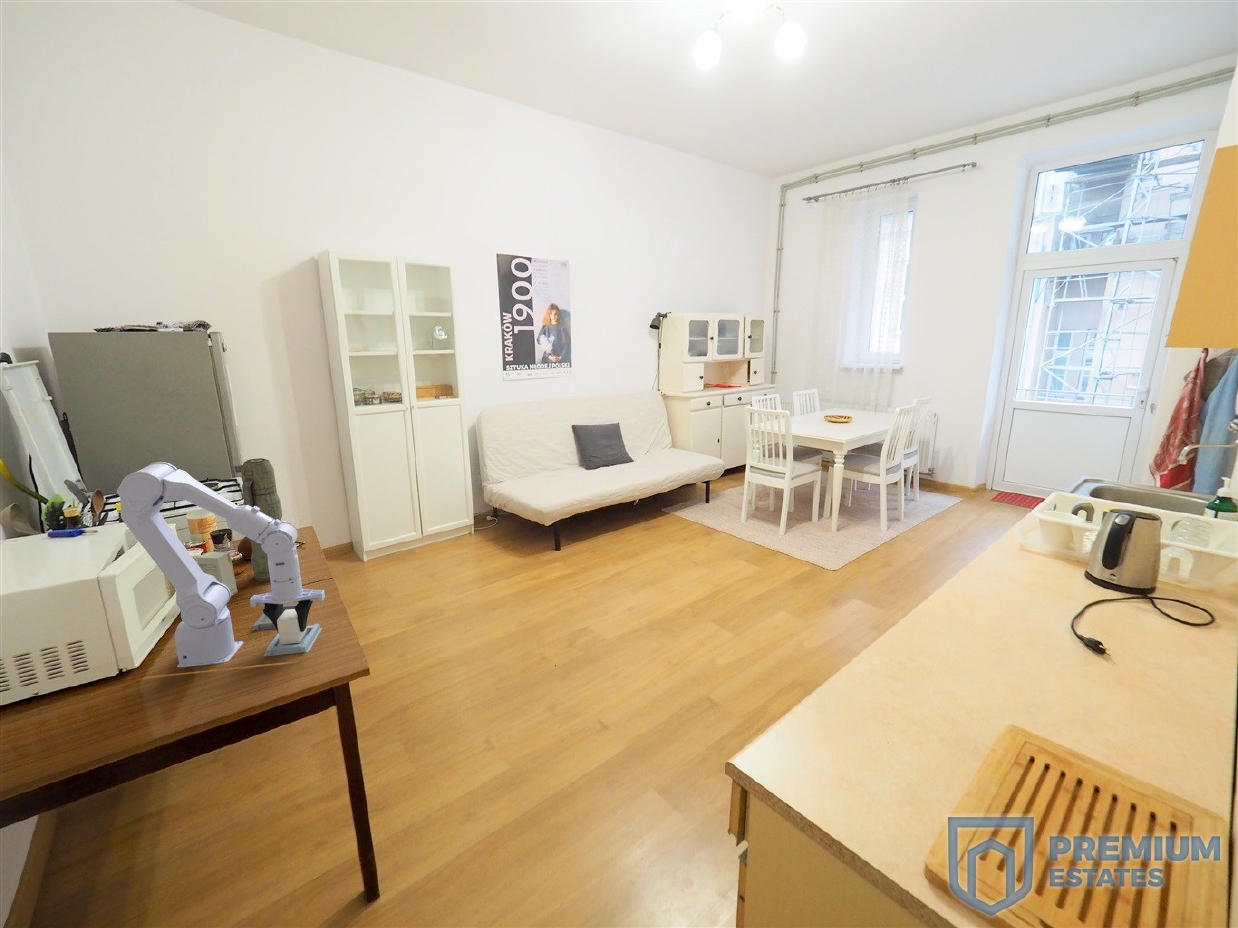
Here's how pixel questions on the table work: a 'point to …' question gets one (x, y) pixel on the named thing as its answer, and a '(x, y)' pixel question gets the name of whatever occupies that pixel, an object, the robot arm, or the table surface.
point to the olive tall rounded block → (260, 505)
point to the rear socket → (266, 622)
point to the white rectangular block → (289, 627)
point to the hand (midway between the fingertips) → (292, 630)
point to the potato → (245, 548)
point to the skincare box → (219, 568)
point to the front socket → (303, 646)
